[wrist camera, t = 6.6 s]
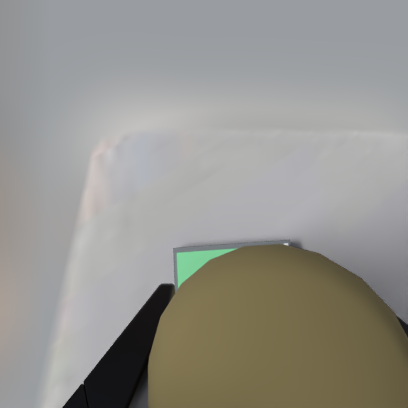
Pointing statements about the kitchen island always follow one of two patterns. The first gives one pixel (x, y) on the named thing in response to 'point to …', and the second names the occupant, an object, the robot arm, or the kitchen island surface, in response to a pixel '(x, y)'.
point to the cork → (277, 337)
